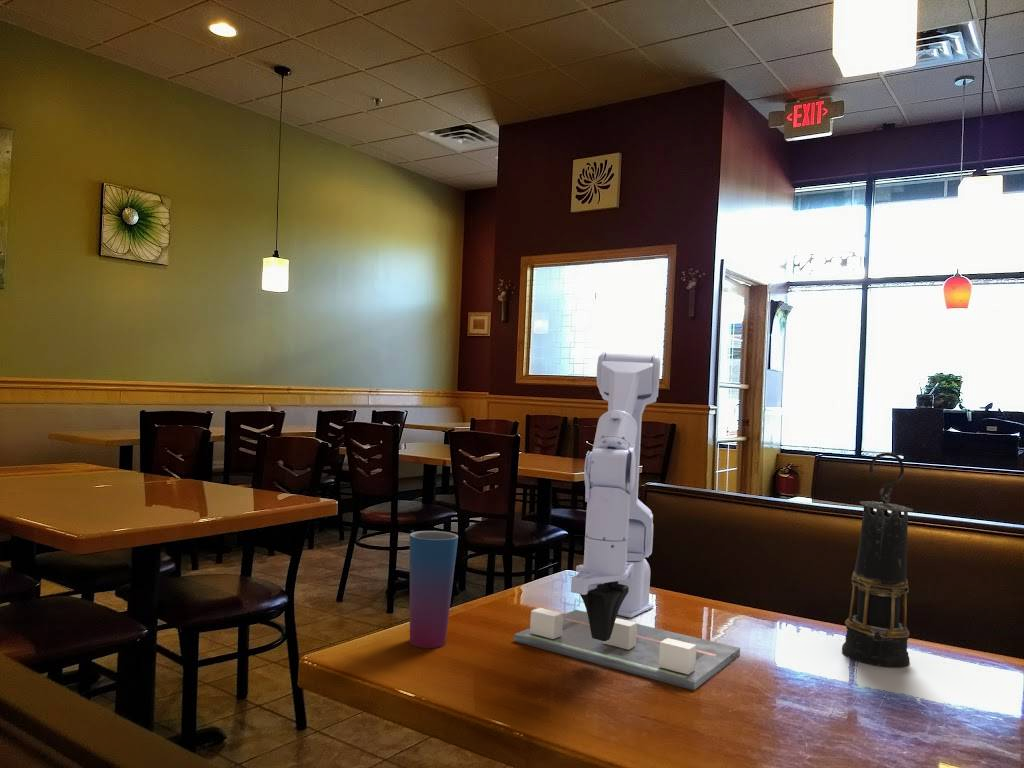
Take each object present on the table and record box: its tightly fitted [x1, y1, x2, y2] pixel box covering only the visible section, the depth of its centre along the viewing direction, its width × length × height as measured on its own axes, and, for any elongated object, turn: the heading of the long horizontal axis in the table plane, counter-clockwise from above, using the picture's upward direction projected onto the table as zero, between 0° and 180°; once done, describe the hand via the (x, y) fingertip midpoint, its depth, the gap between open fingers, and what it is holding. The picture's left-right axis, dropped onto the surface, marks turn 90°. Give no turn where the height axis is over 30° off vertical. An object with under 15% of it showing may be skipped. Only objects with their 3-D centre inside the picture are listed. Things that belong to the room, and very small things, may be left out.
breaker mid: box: [603, 617, 638, 650], centre depth 107 cm, size 2×4×3 cm, turn 56°
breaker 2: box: [659, 638, 696, 675], centre depth 98 cm, size 2×4×3 cm, turn 56°
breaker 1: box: [529, 607, 564, 639], centre depth 110 cm, size 2×4×3 cm, turn 56°
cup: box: [409, 530, 459, 649], centre depth 107 cm, size 7×7×15 cm
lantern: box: [841, 452, 914, 669], centre depth 112 cm, size 9×9×30 cm
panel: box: [513, 609, 741, 691], centre depth 109 cm, size 18×27×1 cm, turn 56°
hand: (600, 638), depth 102 cm, fingers closed
